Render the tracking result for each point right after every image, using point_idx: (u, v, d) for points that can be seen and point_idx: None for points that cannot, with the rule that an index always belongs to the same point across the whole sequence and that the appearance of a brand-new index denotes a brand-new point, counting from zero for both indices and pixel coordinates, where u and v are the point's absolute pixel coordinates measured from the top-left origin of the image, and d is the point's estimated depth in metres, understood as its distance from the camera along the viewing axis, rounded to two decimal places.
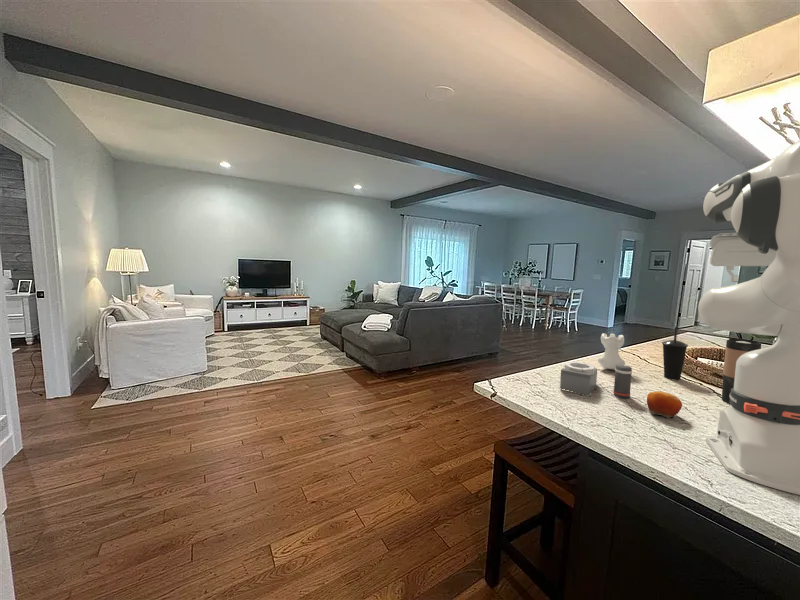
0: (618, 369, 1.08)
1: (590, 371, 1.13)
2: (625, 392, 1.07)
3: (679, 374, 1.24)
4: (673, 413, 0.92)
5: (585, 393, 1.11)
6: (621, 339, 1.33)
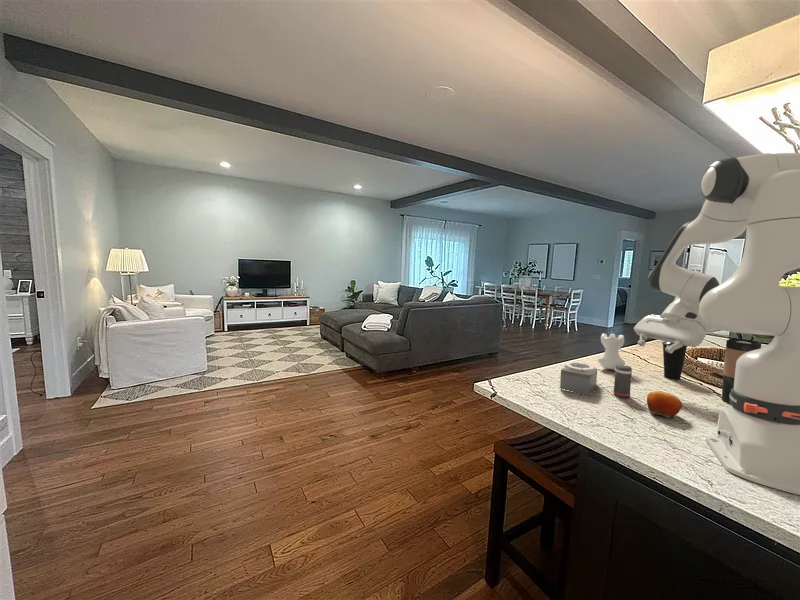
0: (618, 369, 1.08)
1: (590, 371, 1.13)
2: (625, 392, 1.07)
3: (679, 374, 1.24)
4: (673, 413, 0.92)
5: (585, 393, 1.11)
6: (621, 339, 1.33)
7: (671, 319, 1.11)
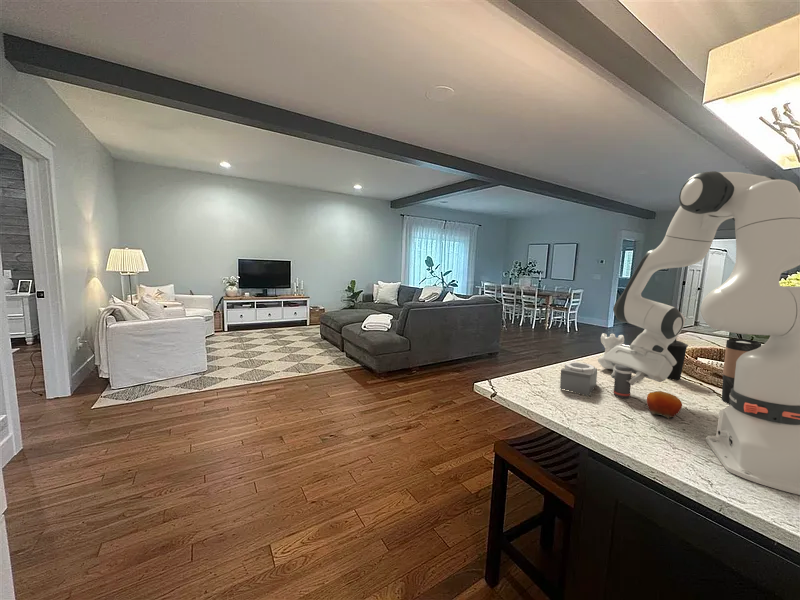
0: (618, 369, 1.08)
1: (590, 371, 1.13)
2: (625, 392, 1.07)
3: (679, 374, 1.24)
4: (673, 413, 0.92)
5: (585, 393, 1.11)
6: (621, 339, 1.33)
7: (639, 351, 1.09)
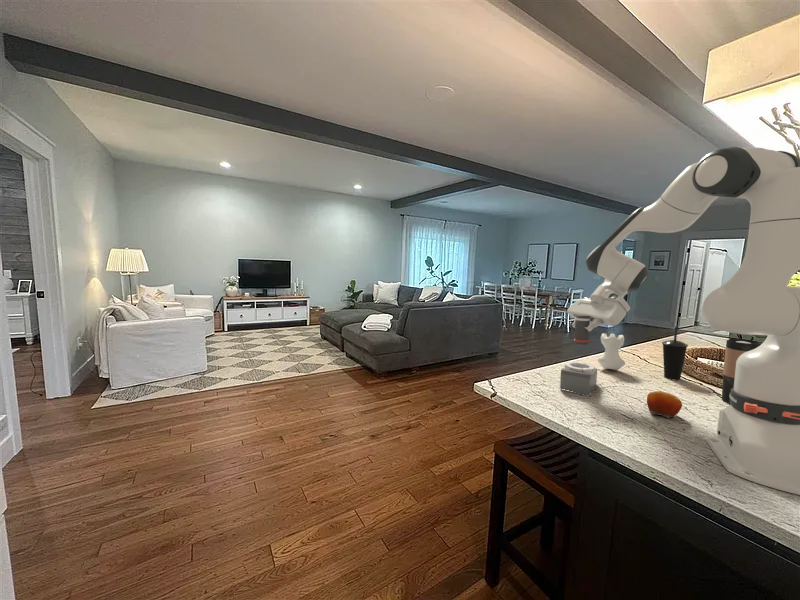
0: (577, 317, 1.15)
1: (590, 371, 1.13)
2: (584, 338, 1.14)
3: (679, 374, 1.24)
4: (673, 413, 0.92)
5: (585, 393, 1.11)
6: (621, 339, 1.33)
7: (597, 300, 1.15)
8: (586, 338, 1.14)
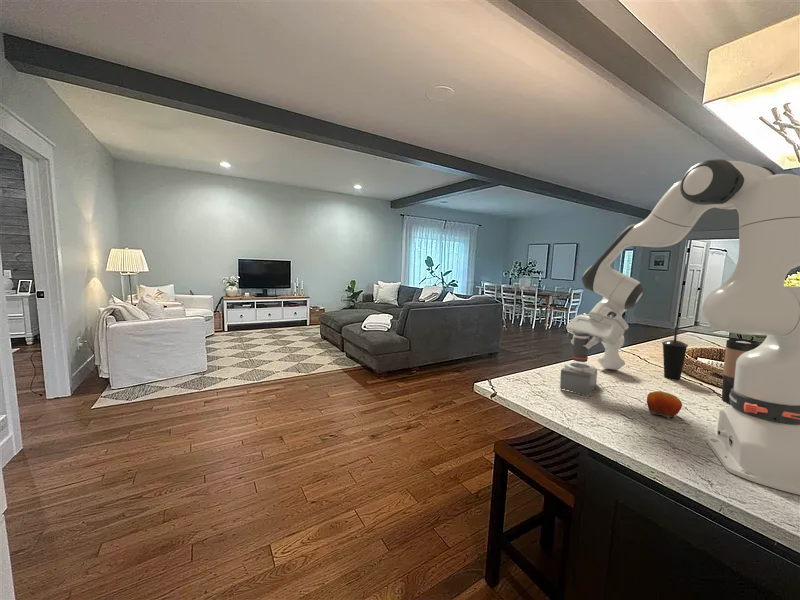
0: (576, 334, 1.16)
1: (590, 371, 1.13)
2: (582, 356, 1.15)
3: (679, 374, 1.24)
4: (673, 413, 0.92)
5: (585, 393, 1.11)
6: (621, 339, 1.33)
7: (596, 318, 1.16)
8: (585, 355, 1.15)
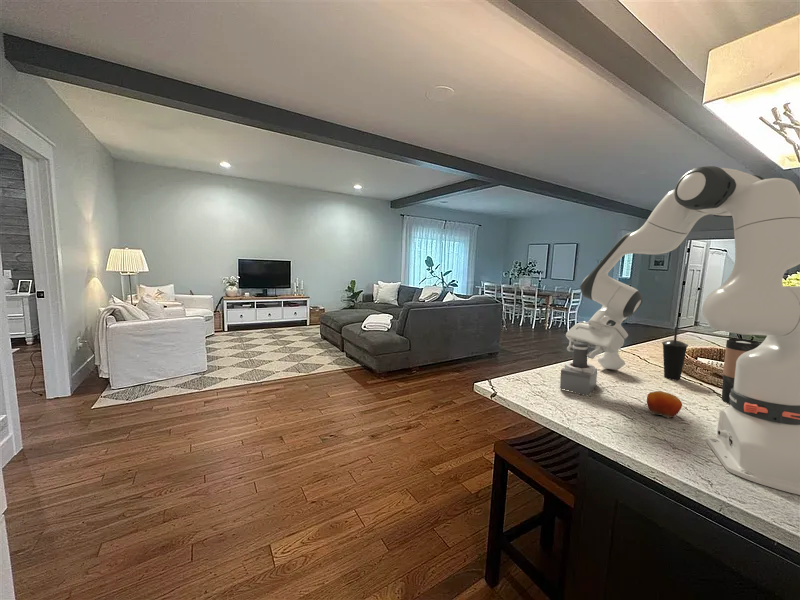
0: (575, 345, 1.16)
1: (590, 371, 1.13)
2: (582, 367, 1.15)
3: (679, 374, 1.24)
4: (673, 413, 0.92)
5: (585, 393, 1.11)
6: None
7: (595, 326, 1.16)
8: (584, 366, 1.15)
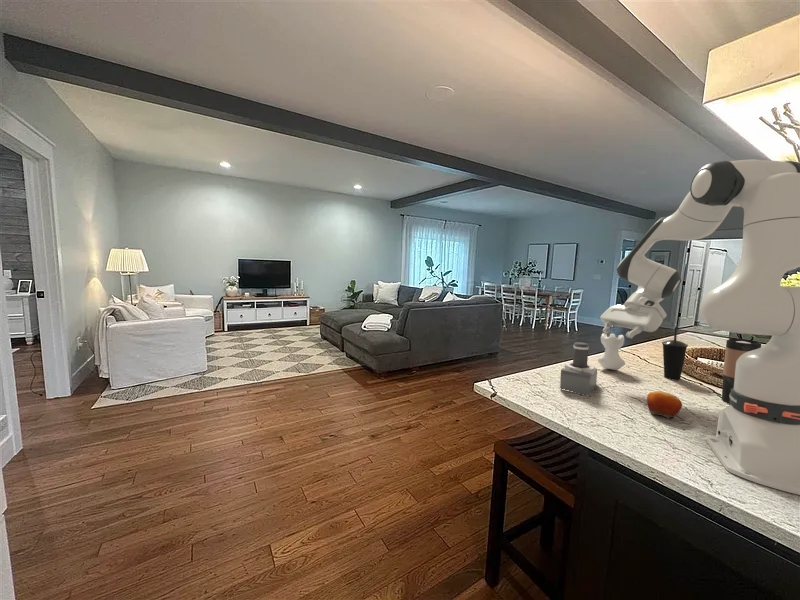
0: (576, 345, 1.16)
1: (590, 371, 1.13)
2: (582, 367, 1.15)
3: (679, 374, 1.24)
4: (673, 413, 0.92)
5: (585, 393, 1.11)
6: (621, 339, 1.33)
7: (632, 307, 1.18)
8: (584, 366, 1.15)
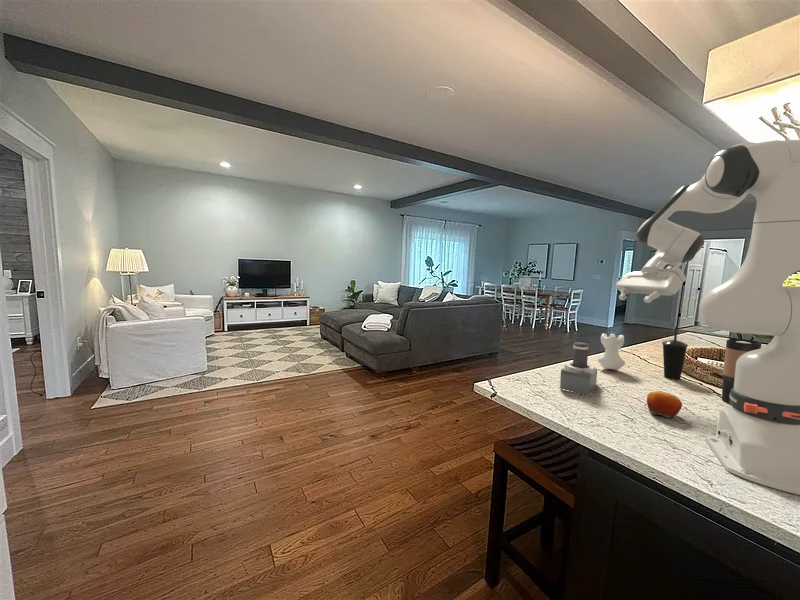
0: (576, 345, 1.16)
1: (590, 371, 1.13)
2: (582, 367, 1.15)
3: (679, 374, 1.24)
4: (673, 413, 0.92)
5: (585, 393, 1.11)
6: (621, 339, 1.33)
7: (650, 272, 1.15)
8: (584, 366, 1.15)
